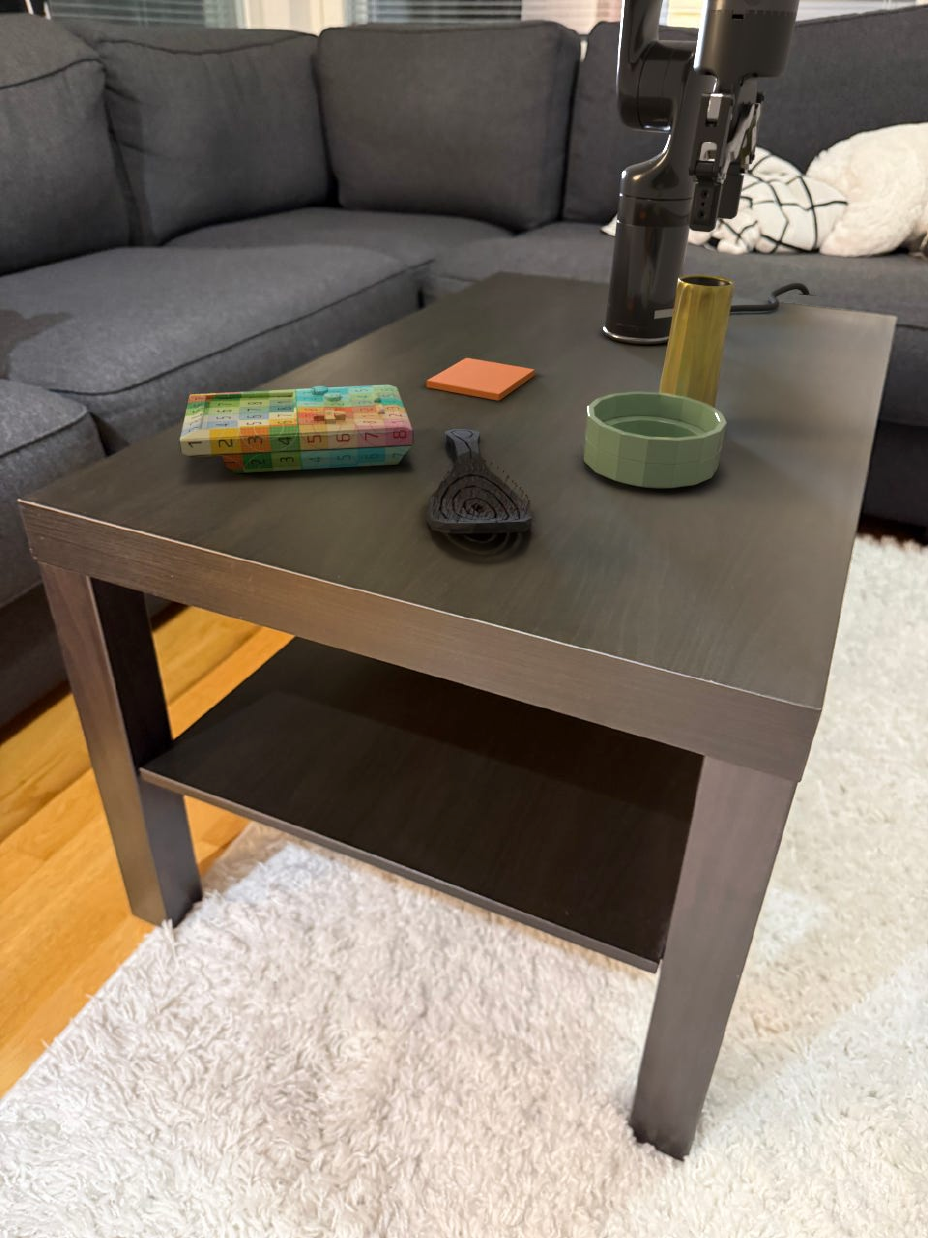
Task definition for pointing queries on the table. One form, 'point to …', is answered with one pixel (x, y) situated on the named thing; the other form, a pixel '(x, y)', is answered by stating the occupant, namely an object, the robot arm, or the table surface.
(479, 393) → the square tile
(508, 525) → the hairbrush
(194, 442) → the puzzle game
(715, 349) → the vase
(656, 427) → the bowl
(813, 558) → the table surface
